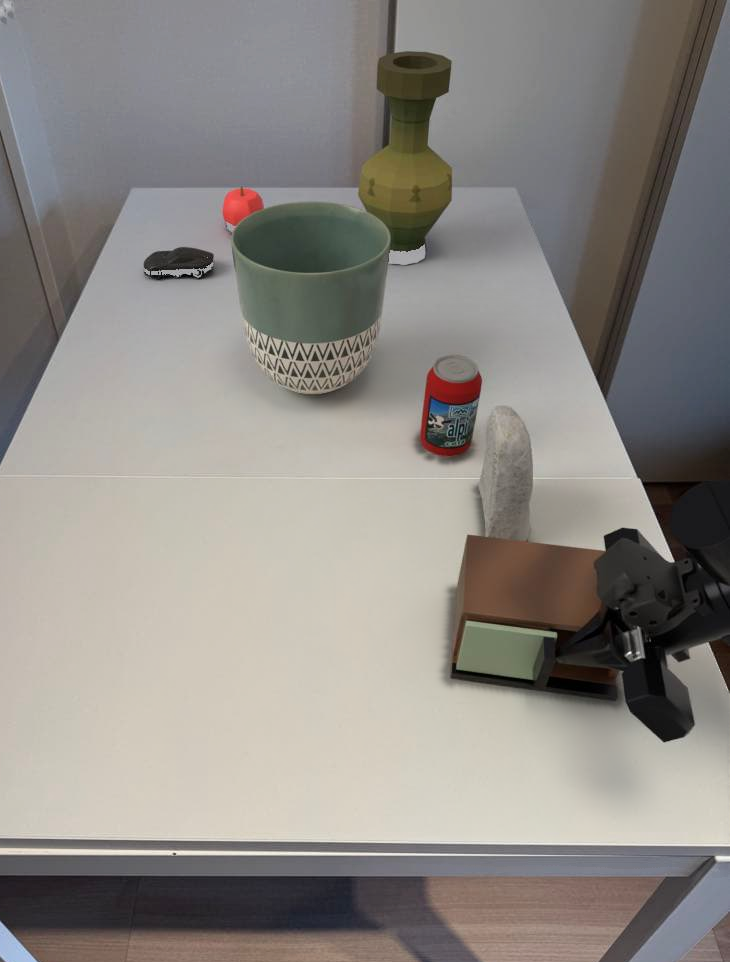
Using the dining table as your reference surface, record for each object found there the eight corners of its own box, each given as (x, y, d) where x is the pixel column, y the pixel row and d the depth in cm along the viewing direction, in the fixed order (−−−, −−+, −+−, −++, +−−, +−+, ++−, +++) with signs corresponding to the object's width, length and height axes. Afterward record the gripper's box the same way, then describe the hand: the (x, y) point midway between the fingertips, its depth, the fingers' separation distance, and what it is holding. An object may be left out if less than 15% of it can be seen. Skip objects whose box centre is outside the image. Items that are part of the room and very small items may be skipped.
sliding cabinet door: (540, 676, 75) (557, 632, 70) (541, 702, 73) (558, 659, 68) (456, 664, 76) (466, 620, 71) (455, 690, 74) (465, 646, 69)
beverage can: (429, 465, 98) (440, 387, 89) (411, 433, 103) (419, 355, 94) (478, 456, 99) (493, 378, 91) (458, 424, 104) (471, 347, 95)
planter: (225, 410, 106) (208, 262, 90) (266, 334, 119) (258, 194, 104) (366, 431, 103) (373, 282, 87) (392, 351, 116) (403, 209, 100)
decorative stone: (467, 484, 96) (486, 384, 85) (515, 485, 96) (540, 384, 85) (479, 549, 88) (501, 448, 77) (531, 549, 88) (560, 448, 77)
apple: (235, 218, 147) (231, 175, 141) (273, 225, 145) (271, 182, 139) (215, 235, 142) (211, 192, 136) (254, 243, 140) (251, 199, 134)
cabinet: (606, 609, 82) (630, 553, 76) (616, 701, 74) (644, 647, 68) (455, 590, 84) (467, 534, 77) (450, 678, 76) (462, 623, 70)
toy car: (147, 264, 134) (143, 243, 132) (216, 263, 135) (213, 242, 132) (143, 281, 130) (139, 259, 128) (214, 279, 131) (211, 258, 128)
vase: (336, 248, 139) (339, 58, 117) (403, 224, 145) (417, 40, 123) (396, 284, 130) (411, 86, 108) (465, 257, 136) (491, 65, 114)
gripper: (662, 455, 63) (502, 533, 72) (703, 637, 50) (503, 704, 59) (725, 532, 68) (568, 597, 77) (778, 717, 55) (582, 767, 64)
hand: (556, 657), depth 69 cm, fingers closed
